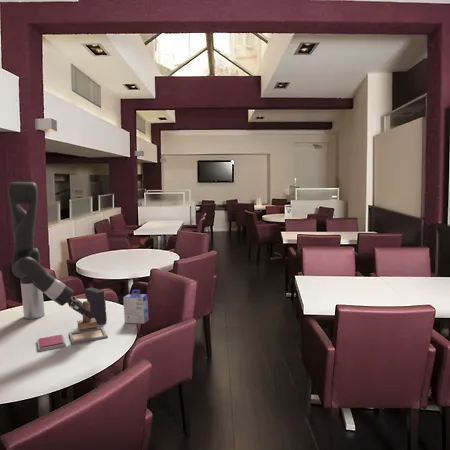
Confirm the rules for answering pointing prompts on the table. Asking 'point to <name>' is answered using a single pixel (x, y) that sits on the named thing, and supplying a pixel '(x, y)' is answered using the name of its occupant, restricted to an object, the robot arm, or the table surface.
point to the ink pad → (51, 342)
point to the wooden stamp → (87, 320)
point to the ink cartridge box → (136, 308)
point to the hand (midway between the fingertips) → (91, 315)
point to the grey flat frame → (87, 335)
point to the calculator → (97, 304)
